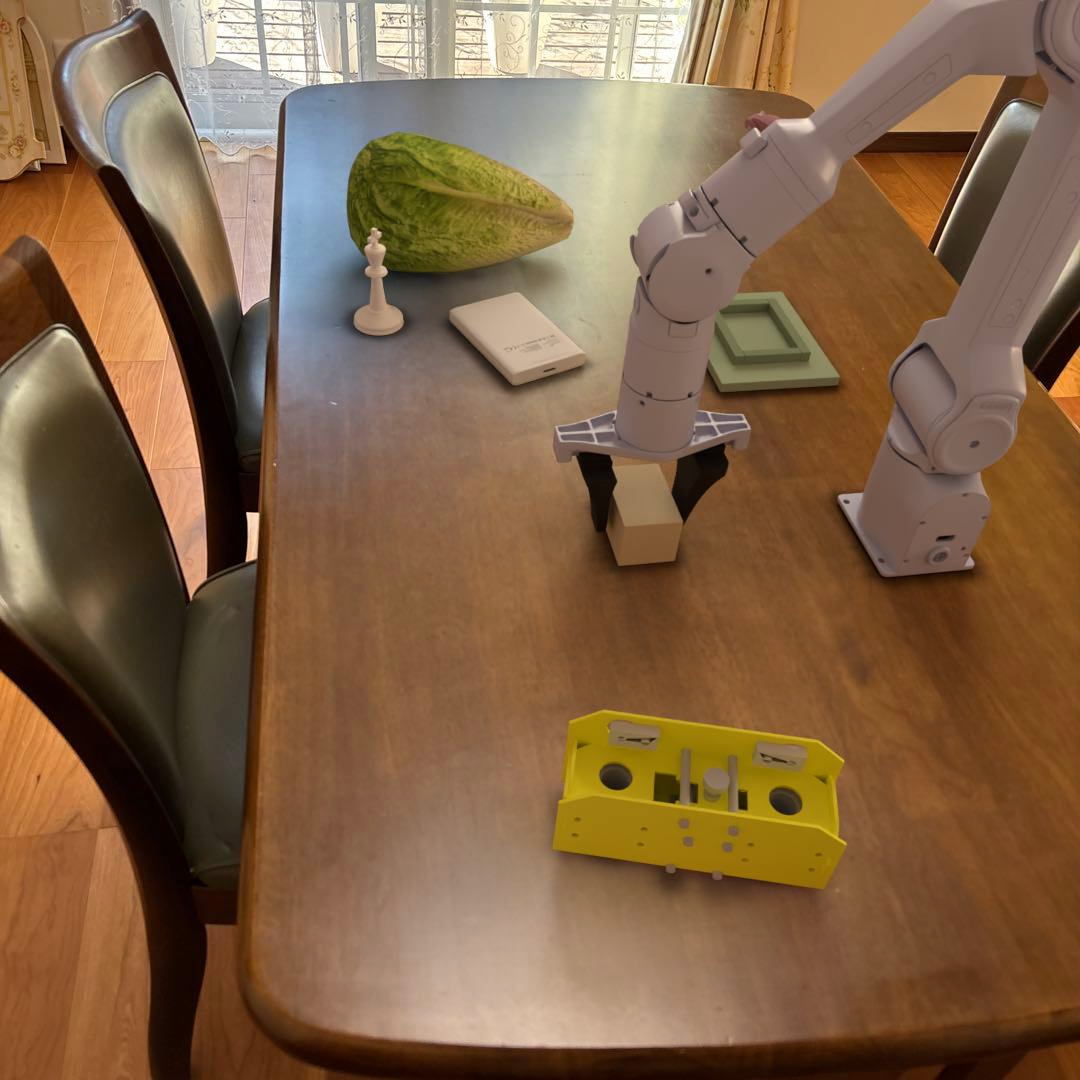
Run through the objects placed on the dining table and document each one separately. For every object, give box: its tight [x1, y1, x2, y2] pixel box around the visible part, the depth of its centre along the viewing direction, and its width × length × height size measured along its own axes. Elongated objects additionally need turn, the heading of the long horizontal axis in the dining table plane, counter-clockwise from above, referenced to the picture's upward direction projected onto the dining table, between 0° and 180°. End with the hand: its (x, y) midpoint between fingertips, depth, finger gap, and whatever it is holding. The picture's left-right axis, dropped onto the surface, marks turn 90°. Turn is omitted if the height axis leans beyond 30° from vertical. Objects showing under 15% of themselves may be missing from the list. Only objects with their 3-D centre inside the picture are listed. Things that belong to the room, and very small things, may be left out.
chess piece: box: [353, 227, 405, 336], centre depth 99 cm, size 5×5×10 cm
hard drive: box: [448, 291, 586, 386], centre depth 100 cm, size 2×8×12 cm
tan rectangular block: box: [605, 463, 684, 567], centre depth 80 cm, size 7×5×4 cm, turn 11°
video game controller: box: [744, 110, 782, 135], centre depth 135 cm, size 10×5×7 cm, turn 25°
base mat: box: [706, 291, 841, 393], centre depth 103 cm, size 16×12×2 cm
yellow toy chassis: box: [551, 709, 848, 891], centre depth 59 cm, size 16×6×8 cm, turn 83°
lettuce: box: [346, 131, 575, 275], centre depth 108 cm, size 15×24×14 cm, turn 99°
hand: (637, 520), depth 81 cm, fingers open, 6 cm apart
